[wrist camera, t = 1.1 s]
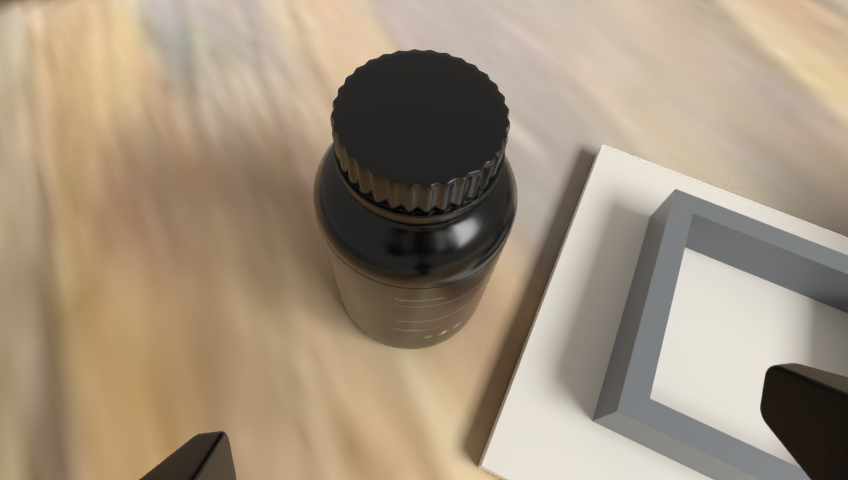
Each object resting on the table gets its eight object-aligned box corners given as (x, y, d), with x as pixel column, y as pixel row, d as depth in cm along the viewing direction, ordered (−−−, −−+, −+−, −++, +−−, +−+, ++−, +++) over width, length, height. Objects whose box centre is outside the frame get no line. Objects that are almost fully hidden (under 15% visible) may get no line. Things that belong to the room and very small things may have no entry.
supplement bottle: (319, 250, 24) (258, 54, 13) (443, 206, 25) (476, -2, 15) (370, 379, 21) (344, 259, 10) (505, 319, 23) (602, 163, 12)
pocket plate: (956, 715, 17) (1084, 764, 13) (477, 467, 19) (492, 461, 16) (932, 284, 25) (1008, 254, 22) (595, 155, 28) (620, 112, 24)
